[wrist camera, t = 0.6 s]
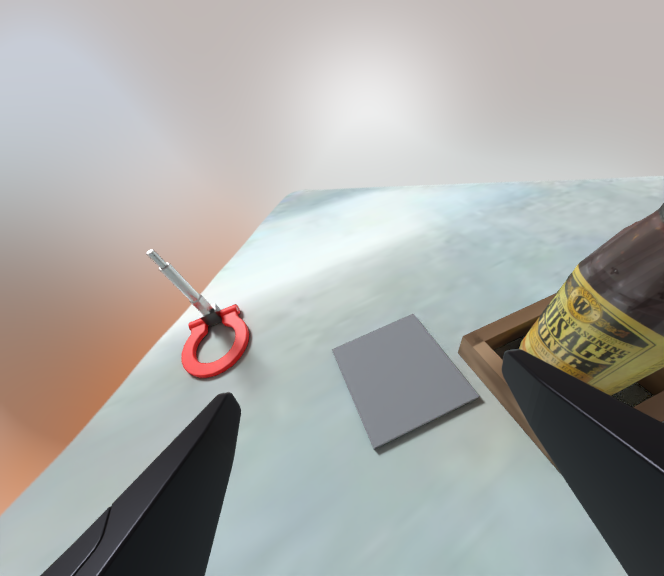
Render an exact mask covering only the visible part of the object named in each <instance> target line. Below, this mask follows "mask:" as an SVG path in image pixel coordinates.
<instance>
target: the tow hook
mask: <svg viewBox="0 0 664 576" xmlns="http://www.w3.org/2000/svg"><path fill="white" fill-rule="evenodd" d="M146 254H147V255H148V256H149V257H150V258H151V259H152V260H153V261H154V262H155V263H156V264H157V265H158V266H159V270H160V271H161V272H162V273H163V274H164V275H165V276H166V277H167V278H168V279H169V280H170V281H171V282H172V283H173V284H174V285H175V286H176V287H177V288H178V289H179V290H180V291H182V293H183V294H184V295H185V296H186V297H187V298H188V299H189V300H190V302H191V303H192V304H193V305H194V306H195V307H196V308H197V309H198V310H199V311H200V317H199V318H200V319H198V320H195V321H193V322H190V323H189V329H190V330H191V335H190V337H189V338H188V339H187V341H186V343H185V345H184V348H183V351H182V364H183V367H184V369H185V370H186V371H187V372H188V373H190V374H191V375H193V376H196V377H198V378H208V377H213V376H216V375H218V374H220V373H223V372H225V371H226V370H227V369H229V368H230V367H232V366H233V365H234V364H235V363H236V362H237V361H238V360H239V359H240V357H241V356H242V354H243V353H244V351H245V349H246V347H247V344H248V340H249V331H248V327H247V325H246V324H245V322H244V321H243V320H242V319H241V318H239V316H238V314H240V310H239V307H238V306H237V305H236V304H235V305H233V306H230V307H228V308H225V309H223V310H220V309H219V307H218V306H217V305H216V304H215V303H214V304H211V305H210V304H209V303H208V302H207V301H206V300H205V298H204V297H203V296H202V295H200V294H198V293H197V292H196V291H195V290H194V289H193V288H192V287H191V286H190V285H189V283H187V282H186V280H185V279H184V278H183V277H182V276H181V275H180V274H179V273H178V272H177V271H176V270H175V269H174V268H173V267H172V266H171V265H170V263H166V262H165V261H164V260H163V259H162V258H161V257H160V256H159V255H158V254H157V253H156V252H155V251H154V250H153V249H151V250H149V251H147V253H146ZM220 322H222V323H223V324H224V325H225V326H229V327H232V328H233V329H234V330H235V335H236V336H235V341H234V344H233V346H232V347H231V349H230V350H229V352H228V353H227V354H226V355H225V356H223V357H222V358H220V359H219V360H217V361H215V362H212V363H200V362H199V361H198V360H197V357H196V351H197V347H198V345H199V343H200V341H201V340H202V339H203V337H204V336H205V335H207V333H208V326H212V325H215V324H217V323H220Z"/></svg>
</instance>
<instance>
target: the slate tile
mask: <svg viewBox="0 0 664 576" xmlns="http://www.w3.org/2000/svg"><path fill="white" fill-rule="evenodd" d="M332 351H333V354H334V356H335V358H336V361H337V363H338V365H339V368H340V370H341V373H342V375H343V377H344V380H345V382H346V384H347V387H348V389H349V392H350V394H351V396H352V399H353V401H354V403H355V406H356V408H357V411H358V413H359V415H360V418H361V420H362V422H363V425H364V427H365V430H366V432H367V434H368V437H369V439H370V441H371V444H372V446H373V449H376V448H378V447H380V446H382V445H384V444H386V443H388V442H391V441H393V440H395V439H397V438H399V437H401V436H403V435H405V434H407V433H409V432H411V431H413V430H415V429H417V428H419V427H421V426H423V425H425V424H427V423H429V422H431V421H433V420H435V419H437V418H439V417H441V416H443V415H445V414H447V413H449V412H451V411H453V410H455V409H457V408H459V407H461V406H463V405H465V404H467V403H469V402H471V401H473V400H475V399H477V398H479V395H478V394H477V392H476V391H475V390H474V389H473V387H472V386H471V385H470V384H469V382H468V381H467V380H466V379H465V377H464V376H463V375H462V374H461V372H460V371H459V370H458V369H457V367H456V366H455V365H454V364H453V362H452V361H451V360H450V359H449V358H448V356H447V355H446V354H445V353H444V351H443V350H442V349H441V348H440V346H439V345H438V344H437V343H436V341H435V340H434V339H433V338H432V336H431V335H430V334H429V333H428V331H427V330H426V329H425V328H424V326H423V325H422V324H421V323H420V321H419V320H418V319H417V318H416V316H415V315H414V314H411V315H409V316H407V317H404V318H402V319H400V320H398V321H395V322H393V323H391V324H388V325H386V326H384V327H382V328H379V329H377V330H375V331H373V332H370V333H368V334H366V335H364V336H361V337H359V338H357V339H355V340H352V341H350V342H348V343H345V344H343V345H341V346H339V347H336V348H334V349H332Z"/></svg>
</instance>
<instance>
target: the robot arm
mask: <svg viewBox="0 0 664 576" xmlns="http://www.w3.org/2000/svg"><path fill="white" fill-rule="evenodd" d="M502 374H503V377H504V379H505V381H506V383H507V384H508V386H509V388H510V390H511V392H512V394H513V396H514V398H515V400H516V401H517V403H518V405H519V407H520V409H521V411H522V413H523V415H524V417H525V418H526V420H527V422H528V424H529V426H530V427H531V429H532V430H533V432H534V434H535V435H536V437H537V438H538V440H539V441H540V443H541V444H542V446H543V447H544V449H545V450H546V452H547V453H548V455H549V456H550V458H551V459H552V461H553V462H554V464H555V465H556V467H557V468H558V470H559V471H560V473H561V474H562V476H563V477H564V479H565V480H566V482H567V483H568V485H569V487H570V488H571V490H572V491H573V493H574V494H575V496H576V497H577V499H578V500H579V502H580V503H581V505H582V506H583V508H584V509H585V511H586V512H587V514H588V515H589V517H590V518H591V520H592V521H593V523H594V524H595V526H596V527H597V529H598V530H599V532H600V533H601V535H602V536H603V538H604V539H605V541H606V542H607V544H608V546H609V547H610V549H611V550H612V552H613V553H614V555H615V556H616V558H617V559H618V561H619V562H620V564H621V565H622V567H623V568H624V570H625V571H626V573H627V574H628V576H664V423H662V422H660V421H658V420H656V419H654V418H653V417H651V416H649V415H647V414H645V413H643V412H641V411H639V410H637V409H635V408H633V407H631V406H629V405H628V404H626V403H624V402H622V401H620V400H618V399H616V398H614V397H612V396H610V395H608V394H606V393H604V392H603V391H601V390H599V389H597V388H595V387H593V386H591V385H589V384H587V383H585V382H583V381H581V380H579V379H578V378H576V377H574V376H572V375H570V374H568V373H566V372H564V371H562V370H560V369H558V368H556V367H554V366H553V365H551V364H549V363H547V362H545V361H543V360H541V359H539V358H537V357H535V356H533V355H531V354H529V353H528V352H526V351H524V350H521V349H514V350H507V351H505V353H504V357H503V363H502ZM240 416H241V408H240V406H239V404H238V402H237V401H236V399H235V397H234V396H233V394H232V393H230V392H228V393H221V394H218V395H217V396H216V397H215V398H214V399H213V400H212V401H211V402H210V403H209V404H208V405H207V406H206V407H205V408H204V409H203V410H202V411H201V413H200V414H199V415H198V416H197V417H196V418H195V419H194V420H193V421H192V422H191V423H190V424H189V425H188V426H187V427H186V428H185V429H184V430H183V431H182V432H181V433H180V434H179V435H178V436H177V437H176V438H175V439H174V440H173V442H172V443H171V444H170V445H169V446H168V447H167V448H166V449H165V450H164V451H163V452H162V453H161V454H160V455H159V456H158V457H157V458H156V459H155V460H154V461H153V462H152V463H151V464H150V465H149V466H148V467H147V468H146V469H145V471H144V472H143V473H142V474H141V475H140V476H139V477H138V478H137V479H136V480H135V481H134V482H133V483H132V484H131V485H130V486H129V487H128V488H127V489H126V490H125V491H124V492H123V493H122V494H121V495H120V496H119V497H118V498H117V499H116V501H115V502H114V503H113V504H112V506H111V507H109V508H108V509H107V510H106V511H105V512H104V513H103V514H102V515H101V516H100V517H99V518H98V519H97V520H96V521H95V522H94V523H93V524H92V525H91V526H90V527H89V528H88V529H87V530H86V531H85V532H84V533H83V534H82V535H81V536H80V537H79V538H78V539H77V540H76V541H75V542H74V543H73V544H72V545H71V546H70V547H69V548H68V549H67V550H66V551H65V552H64V553H63V554H62V555H61V556H60V557H59V558H58V559H57V560H56V561H55V562H54V563H53V564H52V565H51V566H50V567H49V568H48V569H47V570H46V571H45V572H44V573H43V574H41V575H40V576H205V572H206V568H207V564H208V560H209V556H210V552H211V548H212V544H213V540H214V536H215V532H216V528H217V525H218V521H219V517H220V513H221V509H222V505H223V501H224V497H225V493H226V489H227V485H228V481H229V477H230V473H231V469H232V465H233V460H234V455H235V449H236V442H237V436H238V429H239V423H240Z"/></svg>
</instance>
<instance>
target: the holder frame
mask: <svg viewBox="0 0 664 576" xmlns="http://www.w3.org/2000/svg"><path fill="white" fill-rule="evenodd" d="M555 295H556V293H555V294H553V295H551V296H549V297H547V298H545V299H542V300H540V301H538V302H536V303H534V304H532V305H530V306H527V307H525V308H523V309H521V310H519V311H517V312H514V313H512V314H510V315H508V316H506V317H504V318H501V319H499V320H497V321H495V322H493V323H491V324H488V325H486V326H484V327H482V328H480V329H478V330H475V331H473V332H471V333H469V334H467V335H465V336H463V338H462V341H461V344H460V347H459V351H458V353H459V355H460V356H461V357H462V358H463V359H464V361H465V362H466V363H467V364H468V365H469V366H470V368H471V369H472V370H473V371H474V372H475V373H476V375H477V376H478V377H479V378H480V379H481V381H482V382H483V383H484V384H485V385H486V386H487V388H488V389H489V390H490V391H491V392H492V394H493V395H494V396H495V397H496V398H497V399H498V401H499V402H500V403H501V404H502V405H503V406H504V408H505V409H506V410H507V411H508V412H509V414H510V415H511V416H512V417H513V418H514V419H515V421H516V422H517V423H518V424H519V425H520V426H521V428H522V429H523V430H524V431H525V432H526V434H527V435H528V436H529V437H530V438H531V439H532V441H533V442H534V443H535V444H536V445H537V447H538V448H539V449H540V450H541V451H542V452H543V454H544V455H545V456H546V457H547V458H548V459H549V461H550V462H551V463H552V464H553V465H554V467H555V468H556V469H557V470H558V468H557V467H556V465H555V464H554V462H553V461H552V459H551V458H550V456H549V455H548V453H547V452H546V450H545V449H544V447H543V446H542V444H541V443H540V441H539V440H538V438H537V437H536V435H535V434H534V432H533V430H532V429H531V427H530V426H529V424H528V422H527V420H526V418H525V417H524V415H523V413H522V411H521V409H520V407H519V405H518V403H517V401H516V400H515V398H514V396H513V394H512V392H511V390H510V388H509V386H508V384H507V383H506V381H505V379H504V377H503V374H502V363H503V360H502V359H501V358H500V357H499V356H498V355H497V354H496V353H495V352H494V351H493V350H495V349H497V348H499V347H501V346H503V345H505V344H507V343H509V342H511V341H514V340H516V339H518V338H520V337H522V336H524V335H526V334H527V333H528V332H529V331H530V329H531V328H532V326H533V325H534V323H535V322H536V321H537V319H538V318H539V317H540V315H541V314H542V312H543V311H544V310H545V308H546V307H547V305H548V304H549V303H550V302H551V301H552V299H553V298H554V296H555ZM637 383H639V384H640V385H641V386H643V387H644V388H645V389H647V390H648V391H649V392H651V393H652V394H653V395H654V396H653V397H651V398H649V399H647V400H645V401H643V402H641V403H640V404H638V405H636V406H634V407H633V408H635V409H637V410H639V411H641V412H643V413H645V414H647V415H649V416H651V417H653V418H654V419H656V420H658V421H660V422H662V421H664V367H663V368H661V369H659V370H657V371H655V372H654V373H652V374H650V375H648V376H646V377H644V378H642V379H641V380H639V381H637ZM558 471H559V470H558ZM559 472H560V471H559Z"/></svg>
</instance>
